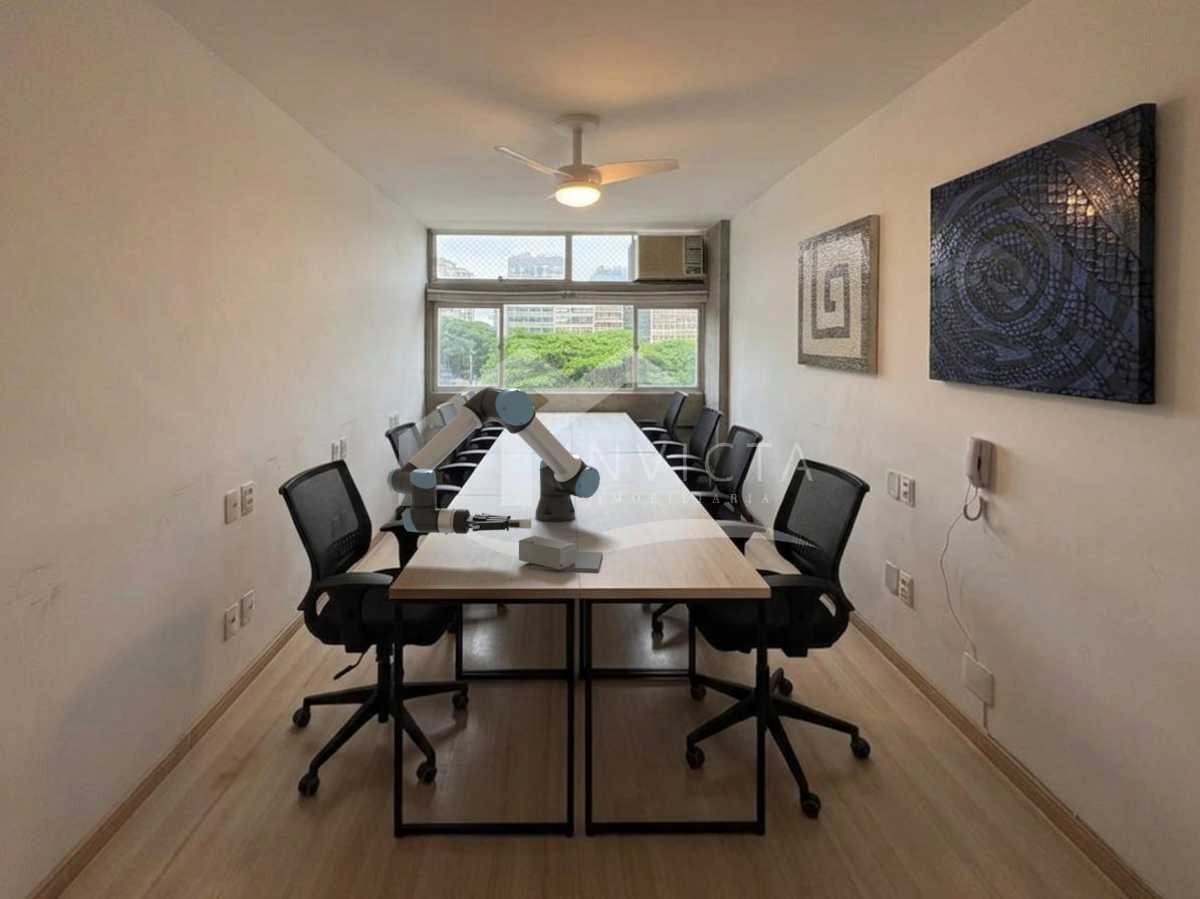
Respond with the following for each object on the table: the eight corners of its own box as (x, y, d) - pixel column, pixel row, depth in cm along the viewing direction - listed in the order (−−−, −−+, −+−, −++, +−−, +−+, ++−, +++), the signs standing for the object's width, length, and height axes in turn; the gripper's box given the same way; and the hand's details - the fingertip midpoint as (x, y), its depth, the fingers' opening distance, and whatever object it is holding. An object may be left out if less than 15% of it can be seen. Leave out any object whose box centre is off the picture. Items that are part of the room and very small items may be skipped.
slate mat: (531, 569, 214) (531, 566, 213) (539, 553, 229) (539, 550, 229) (598, 571, 212) (598, 568, 212) (602, 555, 228) (602, 552, 228)
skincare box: (533, 535, 224) (576, 540, 216) (534, 557, 224) (576, 564, 216) (517, 540, 216) (561, 546, 208) (517, 563, 217) (561, 570, 209)
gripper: (461, 527, 228) (534, 529, 226) (449, 538, 215) (527, 541, 214) (460, 504, 227) (534, 506, 225) (448, 514, 214) (527, 517, 212)
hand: (530, 523), depth 219 cm, fingers closed
